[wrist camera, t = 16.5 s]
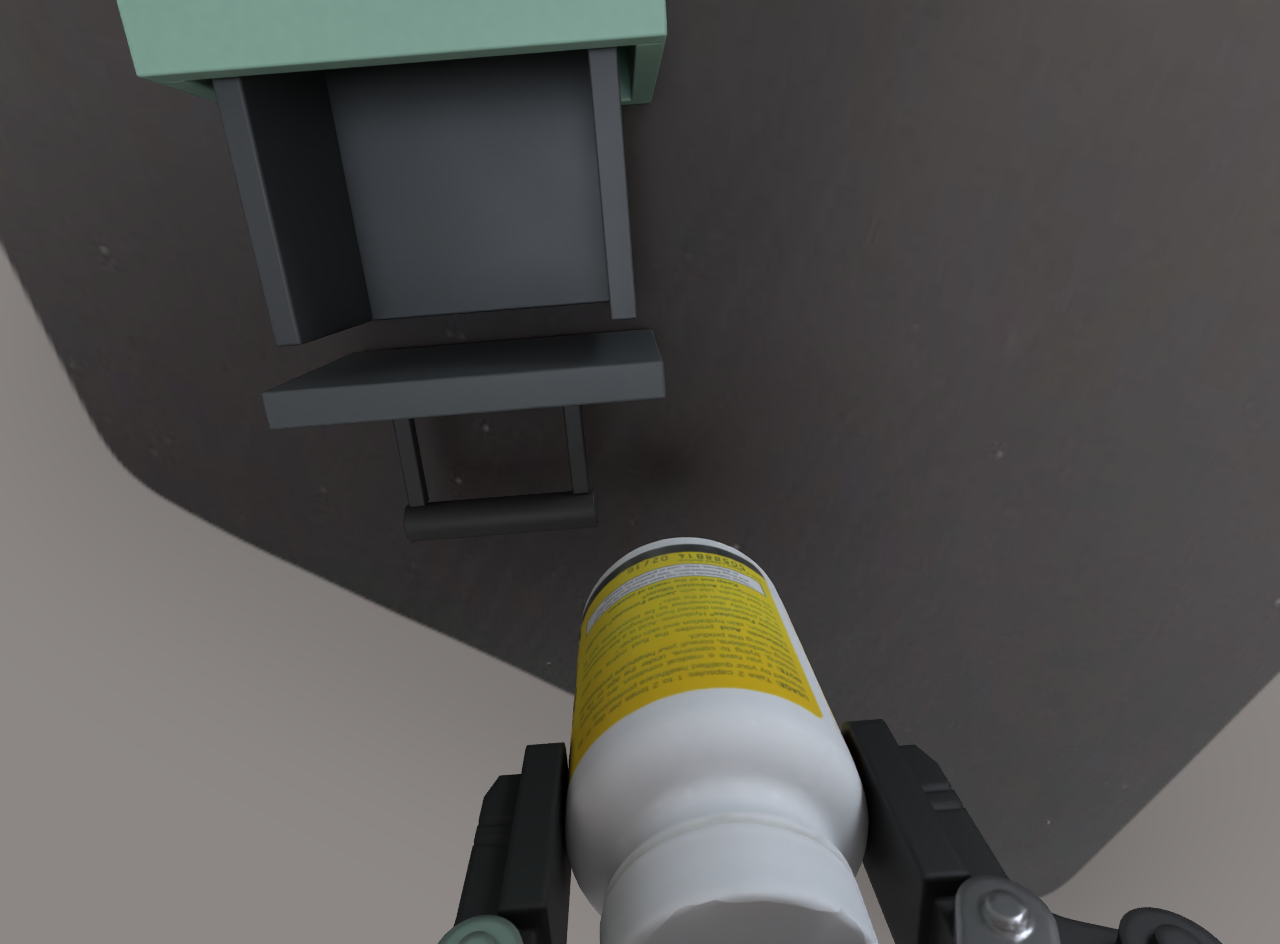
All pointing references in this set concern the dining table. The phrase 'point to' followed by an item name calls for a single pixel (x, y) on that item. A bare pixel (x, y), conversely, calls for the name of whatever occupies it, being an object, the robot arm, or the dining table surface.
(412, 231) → the grey pull-out drawer
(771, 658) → the supplement bottle
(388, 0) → the green drawer cabinet
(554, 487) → the dining table surface
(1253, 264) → the dining table surface
